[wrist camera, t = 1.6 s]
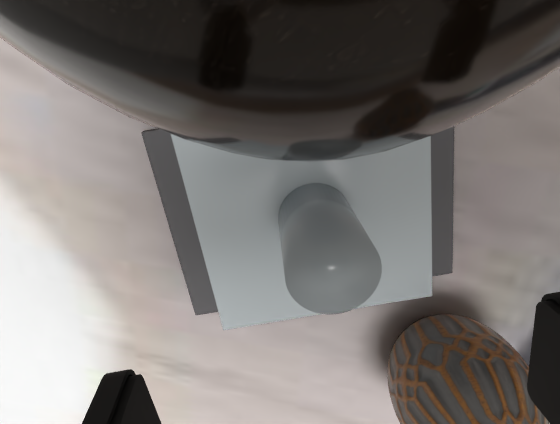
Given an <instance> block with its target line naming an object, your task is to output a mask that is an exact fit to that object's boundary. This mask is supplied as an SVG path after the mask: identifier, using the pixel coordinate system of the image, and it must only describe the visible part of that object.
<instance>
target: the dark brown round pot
mask: <svg viewBox="0 0 560 424" xmlns="http://www.w3.org/2000/svg"><path fill="white" fill-rule="evenodd" d="M0 38H2V39H3V40H4V41H6V42H7V43H8V44H10V45H11V46H12V47H14V48H15V49H17V50H18V51H20V52H21V53H23V54H24V55H26V56H27V57H29V58H30V59H31V60H33V61H34V62H36V63H37V64H39V65H40V66H42V67H43V68H45V69H46V70H48V71H49V72H50V73H52V74H53V75H55V76H56V77H58V78H59V79H61V80H62V81H64V82H65V83H67V84H68V85H70V86H72V87H74V88H75V89H77V90H79V91H81V92H83V93H85V94H87V95H89V96H91V97H92V98H94V99H96V100H98V101H100V102H102V103H104V104H106V105H108V106H109V107H111V108H113V109H115V110H117V111H119V112H121V113H123V114H125V115H126V116H128V117H131V118H133V119H136V120H138V121H141V122H143V123H145V124H148V125H150V126H153V127H155V128H158V129H160V130H163V131H165V132H168V133H170V134H173V135H175V136H178V137H180V138H183V139H185V140H189V141H192V142H196V143H199V144H203V145H206V146H209V147H213V148H216V149H220V150H223V151H227V152H230V153H234V154H239V155H245V156H250V157H256V158H261V159H269V160H285V161H307V162H310V161H329V160H345V159H350V158H355V157H360V156H365V155H370V154H375V153H380V152H385V151H388V150H391V149H394V148H397V147H400V146H403V145H405V144H408V143H411V142H414V141H417V140H420V139H423V138H426V137H429V136H432V135H435V134H438V133H440V132H442V131H444V130H446V129H449V128H451V127H453V126H455V125H457V124H459V123H462V122H464V121H466V120H468V119H470V118H472V117H475V116H477V115H479V114H481V113H483V112H485V111H487V110H489V109H491V108H492V107H494V106H496V105H498V104H499V103H501V102H503V101H505V100H506V99H508V98H510V97H512V96H513V95H515V94H517V93H519V92H520V91H522V90H524V89H526V88H527V87H529V86H531V85H533V84H534V83H536V82H538V81H539V80H541V79H542V78H544V77H545V76H547V75H548V74H550V73H552V72H553V71H555V70H556V69H558V68H559V67H560V0H0Z"/></svg>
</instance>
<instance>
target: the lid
mask: <svg viewBox="0 0 560 424" xmlns="http://www.w3.org/2000/svg"><path fill="white" fill-rule="evenodd" d="M171 137H172V141H173V144H174V148H175V152H176V156H177V159H178V163H179V167H180V170H181V174H182V178H183V182H184V185H185V189H186V193H187V197H188V200H189V204H190V208H191V211H192V215H193V219H194V223H195V226H196V230H197V234H198V238H199V241H200V245H201V249H202V252H203V256H204V260H205V264H206V267H207V271H208V275H209V278H210V282H211V286H212V290H213V293H214V297H215V301H216V305H217V308H218V312H219V316H220V319H221V323H222V327H223V330H229V329H235V328H241V327H247V326H253V325H259V324H265V323H271V322H277V321H284V320H290V319H296V318H302V317H308V316H314V315H320V314H339V313H343V312H347V311H350V310H352V309H357V308H363V307H369V306H375V305H381V304H387V303H393V302H399V301H405V300H411V299H417V298H423V297H430V296H432V215H431V136H429V137H426V138H423V139H420V140H417V141H414V142H411V143H408V144H405V145H403V146H400V147H397V148H394V149H391V150H388V151H385V152H380V153H375V154H370V155H365V156H360V157H355V158H350V159H345V160H329V161H310V162H307V161H285V160H269V159H261V158H256V157H250V156H245V155H239V154H234V153H230V152H227V151H223V150H220V149H216V148H213V147H209V146H206V145H203V144H199V143H196V142H192V141H189V140H185V139H183V138H180V137H178V136H175V135H173V134H171Z"/></svg>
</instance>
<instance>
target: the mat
mask: <svg viewBox="0 0 560 424" xmlns="http://www.w3.org/2000/svg"><path fill="white" fill-rule="evenodd" d="M142 136H143V140H144V143H145V147H146V150H147V153H148V157H149V160H150V163H151V167H152V170H153V173H154V177H155V180H156V184H157V187H158V190H159V194H160V197H161V200H162V204H163V207H164V210H165V214H166V217H167V220H168V224H169V227H170V231H171V234H172V237H173V241H174V244H175V247H176V251H177V254H178V257H179V261H180V264H181V268H182V271H183V274H184V278H185V281H186V284H187V288H188V291H189V294H190V298H191V301H192V305H193V308H194V311H195V315H201V314H207V313H213V312H218V308H217V305H216V301H215V297H214V293H213V290H212V286H211V282H210V278H209V275H208V271H207V267H206V264H205V260H204V256H203V252H202V249H201V245H200V241H199V238H198V234H197V230H196V226H195V223H194V219H193V215H192V211H191V208H190V204H189V200H188V197H187V193H186V189H185V185H184V182H183V178H182V174H181V170H180V167H179V163H178V159H177V156H176V152H175V148H174V144H173V141H172V137H171V134H170V133H168V132H165V131H163V130H160V129H153V130H147V131H143V132H142ZM453 180H454V126H453V127H451V128H449V129H446V130H444V131H442V132H440V133H438V134H435V135H432V136H431V215H432V276H437V275H443V274H449V273H452V260H453Z"/></svg>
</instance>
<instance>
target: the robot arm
mask: <svg viewBox="0 0 560 424" xmlns="http://www.w3.org/2000/svg"><path fill="white" fill-rule="evenodd" d="M527 390H528V394H529V396H530V398H531V400H532V401H533V403H534V404H535V405H536V407H537V408H538V409H539V410H540V412H541V413H542V414H543V415H544V417H545V418H546V419H547V420H548V422H549V423H550V424H560V292H556V293H551V294H546V295H544V296H543V297H542V300H541V302H539V303H538V304H537V306H536V313H535V321H534V330H533V338H532V347H531V355H530V364H529V372H528V381H527ZM82 424H161V421H160V419H159V416H158V414H157V411H156V409H155V406H154V404H153V401H152V399H151V396H150V394H149V391H148V388H147V386H146V383H145V381H144V378H143V376H142V375H141V374H139V375H136V374H135V373H134V371H133V370H124V371H118V372H113V373H107V374H105V375H104V376H103V378H102V380H101V382H100V384H99V386H98V389H97V391H96V393H95V395H94V398H93V400H92V402H91V404H90V407H89V409H88V411H87V413H86V416H85V418H84V420H83V422H82Z"/></svg>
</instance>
